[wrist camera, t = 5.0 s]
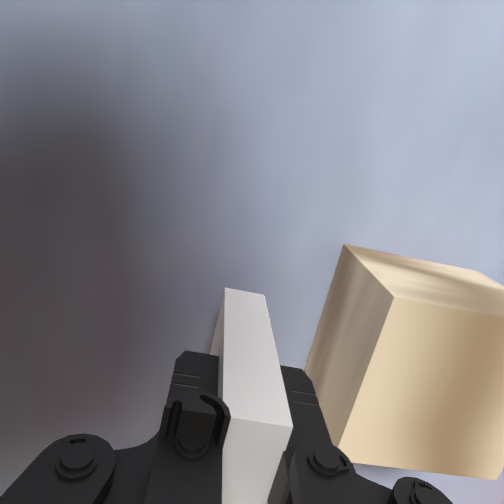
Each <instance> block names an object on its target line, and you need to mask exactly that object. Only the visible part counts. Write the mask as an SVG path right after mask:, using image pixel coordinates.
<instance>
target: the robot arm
mask: <svg viewBox="0 0 504 504" xmlns="http://www.w3.org/2000/svg"><path fill="white" fill-rule="evenodd" d="M0 504H453V503H452V502H451V501H450V500H449V499H448V498H447V497H446V496H445V495H444V494H443V493H442V492H441V491H440V490H438V489H437V488H435V487H434V486H432V485H431V484H429V483H428V482H425V481H423V480H420V479H418V478H413V477H403V478H401V479H398V480H397V482H396V483H395V485H394V487H393V489H392V490H391V489H389V488H387V487H384V486H382V485H379V484H377V483H375V482H372V481H370V480H367V479H365V478H364V477H362V476H360V475H358V474H356V472H355V469H354V467H353V465H352V463H351V461H350V460H349V458H348V457H347V456H346V455H345V454H344V453H343V452H342V451H341V450H340V449H339V448H337V447H336V446H334V445H333V444H332V441H331V438H330V435H329V432H328V429H327V426H326V423H325V420H324V417H323V414H322V411H321V407H319V401H318V398H317V396H316V392H315V389H314V386H313V383H312V381H311V379H310V378H309V377H308V376H307V375H306V374H305V372H304V371H303V370H302V369H298V368H293V367H287V366H281V365H280V364H279V359H278V355H277V350H276V345H275V341H274V336H273V332H272V327H271V322H270V318H269V313H268V308H267V304H266V299H265V295H262V294H256V293H251V292H246V291H241V290H236V289H231V288H226V287H225V289H224V294H223V298H222V302H221V306H220V311H219V315H218V319H217V324H216V328H215V332H214V337H213V341H212V345H211V349H210V355H209V354H203V353H197V352H191V351H185V352H183V353H182V354H181V355H180V356H179V357H178V358H177V359H176V362H175V367H174V371H173V376H172V380H171V385H170V389H169V394H168V398H167V403H166V405H165V407H164V412H163V417H162V422H161V427H160V430H159V431H158V432H157V434H156V435H155V436H154V437H153V438H152V439H150V440H149V441H148V442H146V443H144V444H142V445H139V446H137V447H132V448H128V449H122V450H113V448H112V447H111V446H110V444H109V443H108V442H107V441H105V440H104V439H102V438H100V437H98V436H95V435H89V434H77V435H69V436H67V437H64V438H62V439H59V440H57V441H55V442H53V443H52V444H51V445H50V446H48V447H47V448H46V449H44V450H43V451H42V452H41V453H40V454H39V456H38V457H37V458H36V459H35V460H34V461H33V462H32V463H31V464H30V465H29V466H28V468H27V469H26V470H25V471H24V472H23V473H22V474H21V475H20V476H19V477H18V478H17V479H16V481H15V482H14V483H13V484H12V485H11V486H10V487H9V488H8V489H7V490H6V491H5V492H4V494H3V495H2V496H1V497H0Z"/></svg>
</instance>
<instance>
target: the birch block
mask: <svg viewBox="0 0 504 504" xmlns="http://www.w3.org/2000/svg"><path fill="white" fill-rule="evenodd" d="M305 372H306V375H307V376H308V377H309V378H310V379H311V381H312V383H313V386H314V389H315V392H316V396H317V398H318V401H319V407H321V411H322V414H323V417H324V420H325V423H326V426H327V429H328V432H329V435H330V438H331V441H332V444H333V445H334V446H336V447H337V448H339V449H340V450H341V451H342V452H343V453H344V454H345V455H346V456H347V457H348V458H349V460H350V461H351V462H352V463H360V464H368V465H376V466H384V467H392V468H400V469H408V470H416V471H424V472H433V473H441V474H449V475H457V476H465V477H473V478H481V479H489V480H497V478H498V476H499V474H500V473H501V471H502V469H503V467H504V287H503V286H502V285H500V284H498V283H497V282H495V281H493V280H492V279H490V278H488V277H487V276H485V275H483V274H482V273H480V272H478V271H474V270H469V269H464V268H459V267H454V266H449V265H444V264H439V263H434V262H429V261H425V260H420V259H415V258H410V257H405V256H400V255H395V254H390V253H385V252H380V251H375V250H370V249H365V248H361V247H356V246H351V245H346V244H344V245H343V248H342V251H341V254H340V258H339V261H338V264H337V267H336V270H335V274H334V277H333V280H332V283H331V286H330V290H329V293H328V296H327V299H326V302H325V305H324V309H323V312H322V315H321V318H320V321H319V325H318V328H317V331H316V334H315V337H314V341H313V344H312V347H311V350H310V353H309V356H308V360H307V363H306V366H305Z"/></svg>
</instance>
